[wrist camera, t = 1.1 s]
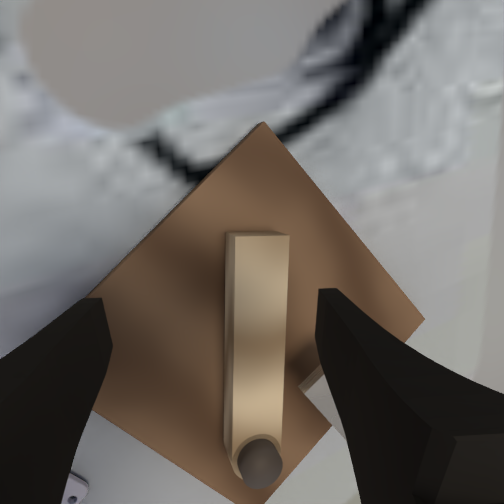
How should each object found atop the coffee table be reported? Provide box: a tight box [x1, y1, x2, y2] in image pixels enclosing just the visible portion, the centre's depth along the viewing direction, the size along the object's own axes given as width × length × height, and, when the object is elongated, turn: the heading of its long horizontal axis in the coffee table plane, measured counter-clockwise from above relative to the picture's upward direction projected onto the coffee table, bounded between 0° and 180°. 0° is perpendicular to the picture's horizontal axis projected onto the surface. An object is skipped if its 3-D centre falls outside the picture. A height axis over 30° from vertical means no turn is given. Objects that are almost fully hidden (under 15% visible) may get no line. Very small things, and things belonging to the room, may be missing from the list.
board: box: [85, 122, 425, 504], centre depth 24 cm, size 18×18×1 cm
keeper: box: [298, 365, 347, 441], centre depth 23 cm, size 3×6×4 cm, turn 39°
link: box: [224, 231, 290, 489], centre depth 21 cm, size 14×3×3 cm, turn 179°
